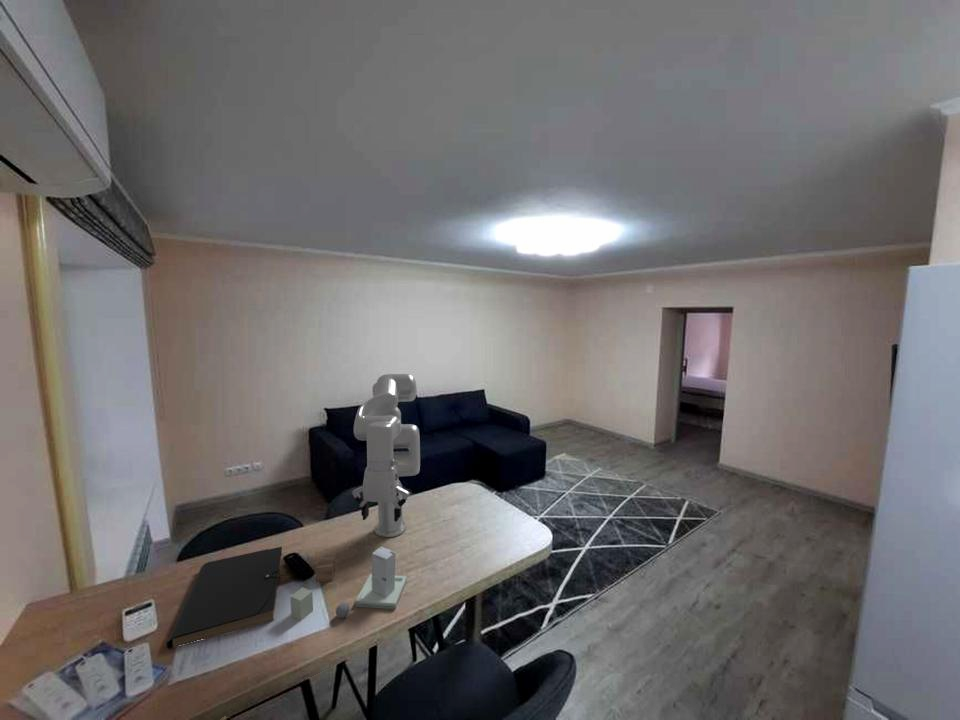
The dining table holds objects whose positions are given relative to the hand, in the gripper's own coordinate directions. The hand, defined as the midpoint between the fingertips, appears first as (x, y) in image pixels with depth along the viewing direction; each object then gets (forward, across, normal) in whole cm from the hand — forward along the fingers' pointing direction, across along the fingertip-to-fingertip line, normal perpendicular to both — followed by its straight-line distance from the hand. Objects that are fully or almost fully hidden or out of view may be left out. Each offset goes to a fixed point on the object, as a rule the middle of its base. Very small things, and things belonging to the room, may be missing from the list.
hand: (381, 518), depth 114 cm
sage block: (+24, +20, +10) cm, 33 cm away
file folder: (+25, +44, +5) cm, 51 cm away
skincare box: (+23, 0, 0) cm, 23 cm away
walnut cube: (+24, +21, -6) cm, 32 cm away
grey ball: (+24, +8, +10) cm, 27 cm away
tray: (+24, 0, 0) cm, 24 cm away
